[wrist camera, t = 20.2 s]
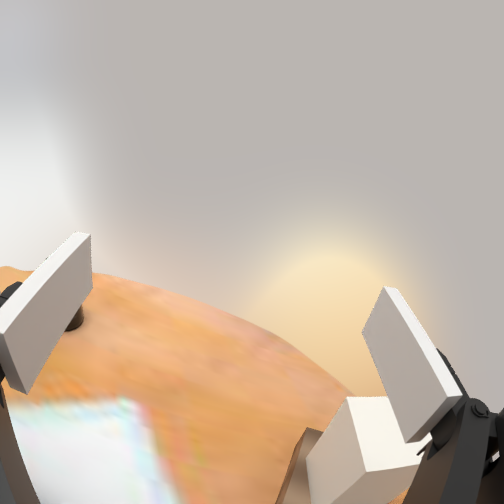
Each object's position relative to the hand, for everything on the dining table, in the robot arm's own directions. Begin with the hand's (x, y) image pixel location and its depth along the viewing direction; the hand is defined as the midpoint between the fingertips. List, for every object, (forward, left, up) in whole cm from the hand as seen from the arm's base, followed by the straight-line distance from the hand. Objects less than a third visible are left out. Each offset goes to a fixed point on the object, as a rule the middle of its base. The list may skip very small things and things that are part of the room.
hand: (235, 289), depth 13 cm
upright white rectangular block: (+7, -14, -25) cm, 30 cm away
